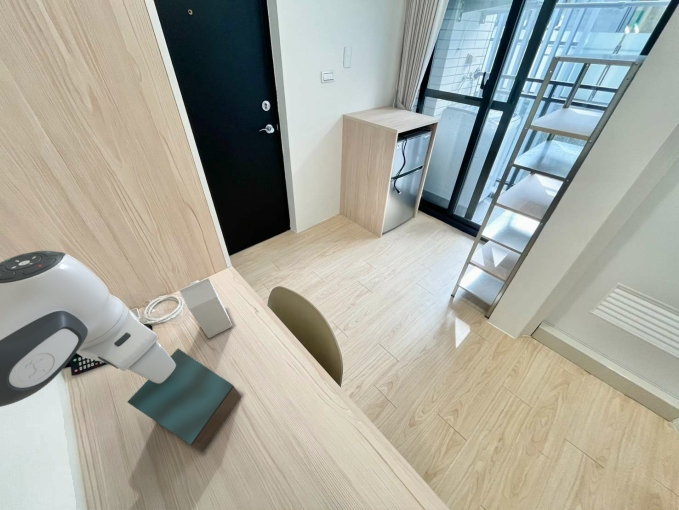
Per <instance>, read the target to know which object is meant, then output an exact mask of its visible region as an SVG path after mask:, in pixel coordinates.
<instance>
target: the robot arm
mask: <svg viewBox="0 0 679 510" xmlns="http://www.w3.org/2000/svg"><path fill="white" fill-rule="evenodd" d="M158 340H159V335H157V333H156V332H155V331H153V330H152V329H151V328H150V327H149V326H147V325H145V324H144V323H143V322H142V321H141V320H140V318H139V317H138V316H137V315H136V314H135V313H134V312H133V311H132V310H131V309H130V308H129V307H128V306H127V305H126V304H125V302H123V301H122V300H121V299H120V298H119V297H117V296H115V295H114V294H111V293H110V291H109V288H108V286H107V285H106V283H104V281H103V280H102V279H101V278H100V277H99V276H97V274H96V273H94V271H92V270H91V269H90V268H88V267H87V266H86V265H85V264H84V263H82V261H80V260H78V259H77V258H75V257H74V256H72V255H71V254H69V253H65V252H61V251H55V250H37V251H30V252H25V253H21V254H17V255H15V256H13V257H9V258H6V259H4V260H2V261H1V262H0V408H1V407H6V406H9V405H13V404H15V403H18V402H20V401H22V400H24V399H27V398H28V397H30V396H33V395H34V394H36V393H38V392H39V391H41V390H42V389H44V388H45V387H46V386H47V385H48V384H50V383H51V382H52V381H53V380H54V379H55V378H56V377H57V376H58V375H59V374H60V373H61V372H62V371H63V370H64V368H65V367H66V366H67V365H68V363H70V361H71V360H72V359H73V357H74V356H75V355H76V354H77V355H79V356H81V357H82V358H84V359H88V360H93V361H97V362H102V363H105V364H107V365H109V366H112V367H113V368H115V369H119V370H120V371H122V372H125V371H127V370H128V371H130V372H132V373H134V374H136V375H138V376H141V377H142V378H144V379H146V380H150V381H152V382H155V383H158V384H160V383H162V382H163V381H165V380H166V379H167V378H168V377H169V376H170V374H171V373H172V372H173V371H174V369H175V367H176V364H175V362H174V361H173V359H172V358H171V357H170V356H171V355H170V354H169V353H168V351H167V350H166V349H165V348H164V347H163V346H162V345H161V343H160V342H158Z"/></svg>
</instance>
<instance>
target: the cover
mask: <svg viewBox="0 0 679 510" xmlns="http://www.w3.org/2000/svg"><path fill="white" fill-rule="evenodd" d="M170 357H171V358H172V359H173V361H174V362H175V364H176V367H175V369H174V371H173V372H172V373H171V374H170V376H169V377H168V378H167V379H166V380H165V381H163V382H162V383H160V384H158V383H155V382H152V381H150V380H148V379H146V381H145V382H144V383H143V384H142V385H141V387H139V388H138V390H137V391H136V392H135V393H134V394H133V395H132V396H131V397H130V398H129V399H128V400H127V404H129V405H131V406H132V407H134V408H135V409H137V410H138V411H139V412H140V413H143V414H144V415H146V416H147V417H149V418H150V419H151V420H153V421H154V422H156V423H157V424H158V425H160V426H162V427H163V428H165V429H166V430H167V431H169V432H171V433H172V434H174V435H175V436H177V437H178V438H179V439H181V440H183V441H184V442H186V443H187V444H188V445H190V446H192V445H191V444H192V442H193V441H194V440H195V438H196V437H197V436H198V434H199V433H200V431H201V430H202V429H203V427H204V426H205V424H206V423H207V422H208V420H209V419H210V417H211V416H212V415H213V413H214V412H215V410H216V409H217V408H218V406H219V405H220V404H221V402H222V401H223V399H224V398H225V397H226V395H227V394H228V392H229V391H230V390H231V388H232V387H233V386H234V384H233V383H231V382H230V381H228V380H226V379H225V378H223V377H222V376H220V375H219V374H217V373H216V372H214V371H213V370H211V368H208V367H207V366H205V365H204V364H203V363H201V362H199V361H198V360H196V359H195V358H194V357H192V356H191V355H189V354H187V353H186V352H185V351H183V350H181V349H180V348H177V349H176V350H175V351H174V352H173V353H172V354H171V355H170Z"/></svg>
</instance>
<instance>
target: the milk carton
mask: <svg viewBox="0 0 679 510" xmlns="http://www.w3.org/2000/svg"><path fill="white" fill-rule="evenodd" d="M178 291H179V292H180V294H181V297H182V298H183V300H184V303H185V305H186V306H187V309H188V311H189V312H190V313H191V315H192V316H193V318H194V319H195V321H196V322H197V324H198V325H199V326H200V328H201V330H202V331H203V333H204V334H205V335H206V337H207V338H208V339H210V338H212V337H215V336H217V335H218V334H220V333H222V332H224V331H226V330H229V329H230V328H232V327H233V324H232V321H231V319H230V317H229V315H228V313H227V310H226V308H225V306H224V304H223V302H222V300H221V298H220V297H219V295H218V293H217V291H216V288H215V287H214V285H213V283H212V282H211V279H209V277H206V278H204V279H202V280H199V279H197V280H194V281H192V282H190V283H189V285H187V286H184V287H182V288H180V289H178Z"/></svg>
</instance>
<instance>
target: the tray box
mask: <svg viewBox="0 0 679 510" xmlns="http://www.w3.org/2000/svg"><path fill="white" fill-rule="evenodd" d="M241 398H242V394H240V393H239V391H238V390H237V388H236V387H235V386H234V385H233V387H232V388H231V390H230V391H229V392H228V394H227V395H226V397H225V398H224V399H223V401H222V402H221V404H220V405H219V406H218V408H217V409H216V410H215V412H214V413H213V415H212V416H211V417H210V419H209V420H208V422H207V423H206V424H205V426H204V427H203V429H202V430H201V431H200V433H199V434H198V436H197V437H196V438H195V440H194V441H193V442H192V444H191V445H190V446H192V447H194V448H196V449H197V450H199V451H201V452H202V453H203V452H205V450H206V449H207V447H208V446H209V444H211V442H212V440H213V439H214V437H215V436H216V435H217V432H218V431H219V430H220V428H221V427H222V425H223V424H224V422H225V421H226V420H227V418H228V417H229V415H230V414H231V412H232V411H233V409H234V408H235V406H236V405H237V403H239V400H240V399H241Z"/></svg>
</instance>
